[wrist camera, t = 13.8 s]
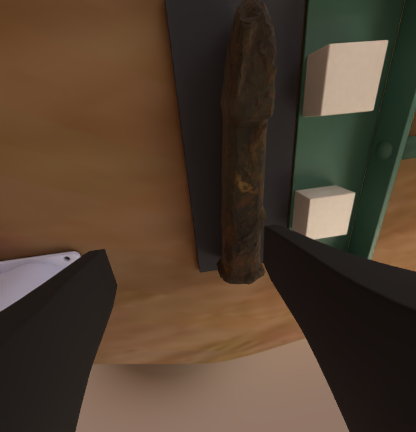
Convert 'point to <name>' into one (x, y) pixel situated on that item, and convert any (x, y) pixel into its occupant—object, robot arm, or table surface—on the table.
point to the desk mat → (212, 115)
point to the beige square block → (322, 211)
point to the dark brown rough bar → (246, 139)
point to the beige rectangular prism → (343, 78)
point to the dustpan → (359, 116)
